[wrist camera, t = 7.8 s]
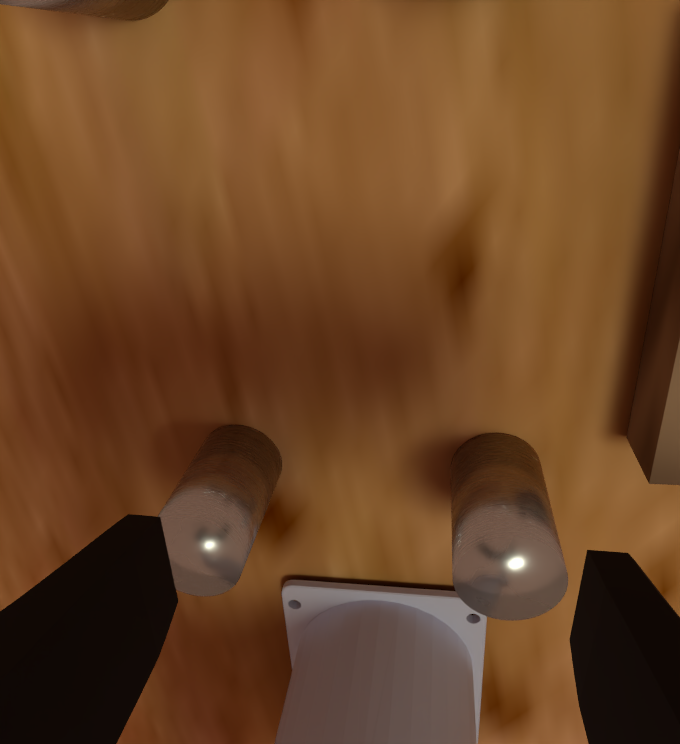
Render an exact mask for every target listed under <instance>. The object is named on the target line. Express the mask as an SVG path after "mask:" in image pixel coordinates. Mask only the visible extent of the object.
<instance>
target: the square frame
mask: <svg viewBox="0 0 680 744" xmlns="http://www.w3.org/2000/svg"><path fill="white" fill-rule="evenodd" d="M627 439H628V441H629V443H630V445H631V448H632V450H633V452H634V454H635V456H636V458H637V460H638V462H639V464H640V466H641V468H642V470H643V472H644V474H645V476H646V478H647V480H648V482H649V484H668V485H680V149H679V154H678V160H677V165H676V170H675V176H674V181H673V187H672V192H671V198H670V203H669V209H668V214H667V220H666V225H665V231H664V236H663V242H662V247H661V252H660V258H659V263H658V269H657V274H656V280H655V285H654V291H653V296H652V302H651V307H650V313H649V318H648V323H647V329H646V334H645V340H644V345H643V351H642V356H641V362H640V367H639V373H638V378H637V384H636V389H635V395H634V400H633V405H632V411H631V416H630V422H629V427H628V433H627Z"/></svg>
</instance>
